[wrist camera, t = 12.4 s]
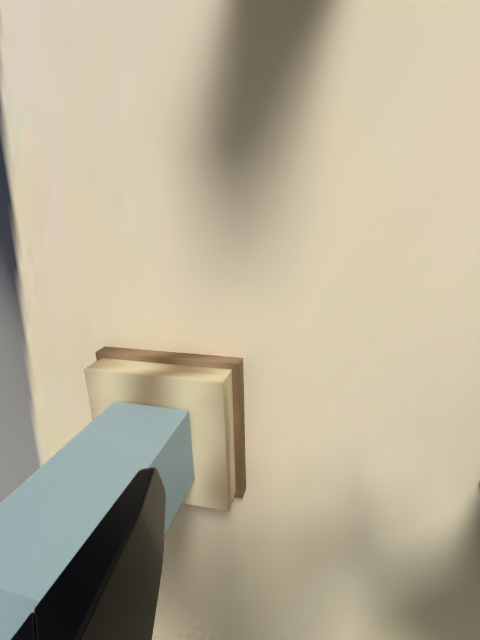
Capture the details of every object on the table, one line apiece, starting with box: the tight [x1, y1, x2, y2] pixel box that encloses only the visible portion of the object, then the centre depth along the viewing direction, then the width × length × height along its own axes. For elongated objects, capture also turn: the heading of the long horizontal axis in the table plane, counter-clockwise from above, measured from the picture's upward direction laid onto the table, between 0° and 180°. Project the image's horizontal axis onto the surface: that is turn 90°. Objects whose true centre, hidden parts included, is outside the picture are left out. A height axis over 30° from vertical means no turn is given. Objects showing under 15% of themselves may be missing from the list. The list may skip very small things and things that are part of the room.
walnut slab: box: [96, 347, 246, 498], centre depth 27 cm, size 11×11×2 cm
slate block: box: [0, 401, 195, 640], centre depth 19 cm, size 6×6×12 cm
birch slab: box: [84, 358, 236, 512], centre depth 26 cm, size 10×10×2 cm
